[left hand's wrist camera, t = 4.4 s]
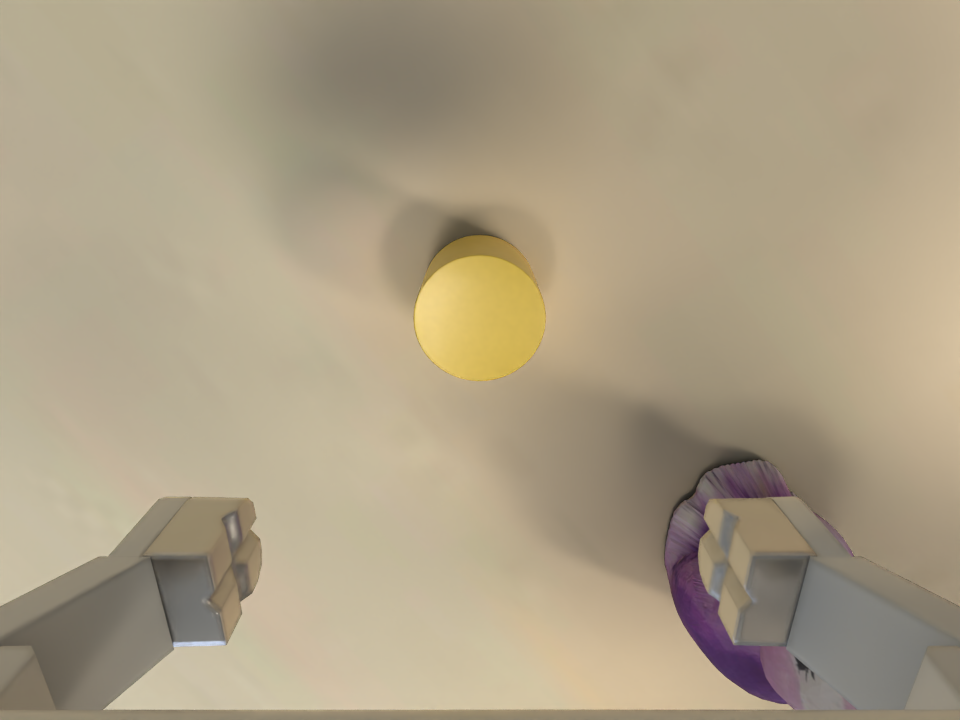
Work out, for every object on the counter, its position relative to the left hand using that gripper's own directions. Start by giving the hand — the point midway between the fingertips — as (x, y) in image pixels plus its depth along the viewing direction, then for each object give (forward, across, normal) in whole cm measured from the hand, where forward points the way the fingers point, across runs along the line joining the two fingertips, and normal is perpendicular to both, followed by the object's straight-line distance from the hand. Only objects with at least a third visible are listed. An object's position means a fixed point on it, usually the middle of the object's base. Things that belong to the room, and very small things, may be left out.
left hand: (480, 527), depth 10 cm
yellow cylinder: (+17, 0, 0) cm, 17 cm away
